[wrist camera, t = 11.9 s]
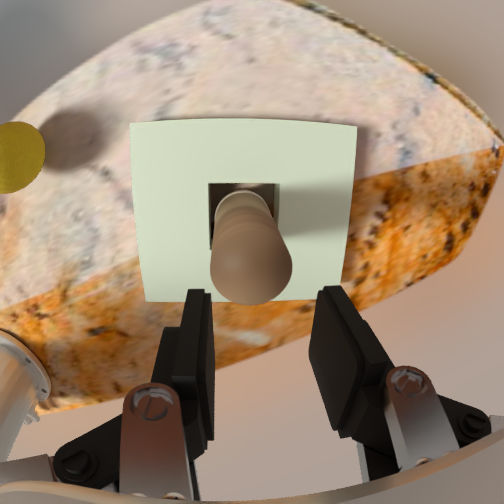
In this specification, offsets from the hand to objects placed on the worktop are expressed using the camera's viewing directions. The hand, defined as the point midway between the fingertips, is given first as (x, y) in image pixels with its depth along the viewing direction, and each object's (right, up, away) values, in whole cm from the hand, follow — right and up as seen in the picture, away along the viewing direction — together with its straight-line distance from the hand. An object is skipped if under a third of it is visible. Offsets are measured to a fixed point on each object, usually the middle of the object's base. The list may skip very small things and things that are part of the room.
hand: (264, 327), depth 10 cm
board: (-1, +6, +14) cm, 15 cm away
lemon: (-19, +11, +10) cm, 24 cm away
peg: (-1, +6, +14) cm, 15 cm away
